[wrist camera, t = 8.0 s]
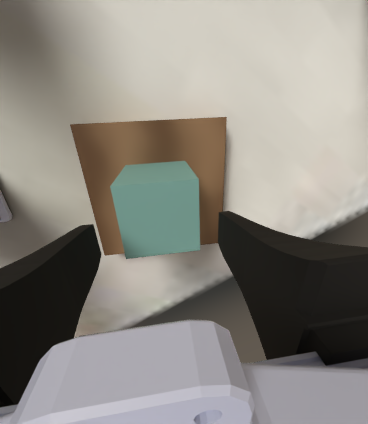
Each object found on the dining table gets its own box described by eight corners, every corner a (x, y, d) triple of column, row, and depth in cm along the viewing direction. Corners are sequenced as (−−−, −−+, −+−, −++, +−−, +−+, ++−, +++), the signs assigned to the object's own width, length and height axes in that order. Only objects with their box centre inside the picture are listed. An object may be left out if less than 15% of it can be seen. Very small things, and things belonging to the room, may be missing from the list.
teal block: (134, 218, 18) (125, 258, 13) (125, 165, 16) (110, 186, 11) (187, 213, 19) (200, 250, 13) (185, 160, 17) (198, 179, 11)
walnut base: (109, 244, 21) (104, 255, 20) (79, 124, 16) (70, 124, 15) (216, 232, 23) (221, 242, 21) (219, 117, 18) (226, 117, 16)
